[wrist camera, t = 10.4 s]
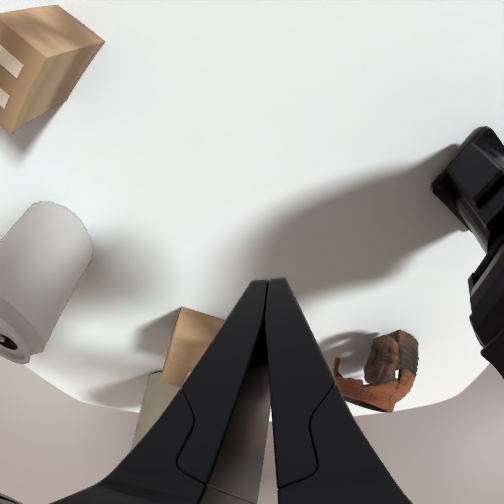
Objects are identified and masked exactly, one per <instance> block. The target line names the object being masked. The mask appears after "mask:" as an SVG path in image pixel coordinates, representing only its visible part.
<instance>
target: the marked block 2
mask: <svg viewBox="0 0 504 504" xmlns="http://www.w3.org/2000/svg"><path fill="white" fill-rule="evenodd" d="M224 322H225V320H223V319H220V318H217V317H214V316H210V315H207V314H204V313H201V312H198V311H194V310H191V309H188V308H185V307H182V308H181V310H180V313H179V316H178V319H177V322H176V324H175V327H174V330H173V333H172V337H171V341H170V344H169V348H168V352H167V356H166V359H165V363H164V367H163V371H162V375H161V379H160V382H164V383H167V384H170V385H174V386H177V387H181V388H182V385H183V383H184V382H185V380H186V379H187V377H188V376H189V374H190V373H191V371H192V370H193V369H194V367H195V366H196V364H197V363H198V361H199V360H200V358H201V357H202V355H203V354H204V352H205V351H206V349H207V348H208V346H209V345H210V343H211V342H212V340H213V339H214V337H215V336H216V334H217V333H218V331H219V329H220V328H221V326H222V325H223V323H224Z"/></svg>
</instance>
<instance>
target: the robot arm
mask: <svg viewBox="0 0 504 504" xmlns="http://www.w3.org/2000/svg"><path fill="white" fill-rule="evenodd" d="M487 132H489V134H488V136H486V134H487ZM438 186H440V188H439V189H436V188H437V187H438ZM431 190H432V191H433V193H434V194H435V195H436V196H437V197H438V198H439V199H440V200H441V201H442V202H443V203H444V204H445V205H446V206H447V207H448V208H449V209H450V210H451V211H452V212H453V213H454V214H455V215H456V216H457V217H458V218H459V219H460V221H461V222H462V223H463V224H464V225H465V226H466V227H467V228H468V229H469V230H470V231H471V232H472V233H473V234H474V236H475V237H476V239H477V240H478V242H479V243H480V245H481V247H482V248H483V250H484V252H485V253H486V256H485V257H484V259H483V260H482V262H481V263H480V265H479V266H478V268H477V269H476V271H475V272H474V273H472V274H471V276H470V277H469V278H468V285H469V292H470V303H471V310H472V314H471V315H470V317H469V318H470V323H471V325H472V327H473V330H474V332H475V335H476V337H477V339H478V341H479V343H480V344H481V346H482V347H483V349H482V350H481V352H480V353H481V355H482V356H483V357H484V358H485V359H486V360H488V361H489V362H490V363H491V364H492V365H493V366H494V367H495V368H496V369H497V371H498V372H499V373H500V374H501V375H502V377H503V379H504V145H503V144H502V142H501V141H500V139H499V138H498V137H497V135H496V134H495V132H494V131H493V130H492V129H491V128H490V127H487V126H485V127H483V128H482V129H481V130H480V132H479V133H478V134H477V135H476V136H475V137H474V138H473V140H472V141H471V142H470V143H469V144H468V145H467V146H466V147H465V148H464V149H463V150H462V152H461V153H460V154H459V155H458V156H457V157H456V158H455V159H454V160H453V161H452V162H451V164H450V165H449V166H448V167H447V168H446V169H445V170H444V171H443V172H442V173H441V175H440V176H439V177H438V178H437V179H436V180H435V181H434V182H433V183H432V185H431ZM270 407H271V412H272V425H273V438H274V450H275V451H274V452H275V465H276V479H277V488H278V504H413V503H412V502H411V501H410V500H409V499H408V498H407V497H406V495H405V494H404V493H403V492H402V490H401V489H400V488H399V486H398V485H397V484H396V482H395V481H394V479H393V478H392V477H391V475H390V473H389V472H388V471H387V469H386V468H385V466H384V464H383V463H382V461H381V460H380V459H379V457H378V456H377V454H376V452H375V451H374V449H373V448H372V446H371V445H370V444H369V442H368V440H367V439H366V437H365V436H364V434H363V433H362V431H361V429H360V428H359V426H358V425H357V423H356V421H355V419H354V418H353V416H352V414H351V412H350V410H349V408H348V406H347V404H346V402H345V400H344V398H343V396H342V394H341V392H340V390H339V387H338V386H337V385H336V382H335V379H334V377H333V375H332V373H331V371H330V369H329V367H328V365H327V362H326V360H325V358H324V356H323V354H322V352H321V350H320V348H319V346H318V344H317V342H316V339H315V337H314V335H313V333H312V331H311V329H310V327H309V325H308V323H307V321H306V319H305V317H304V315H303V312H302V310H301V308H300V306H299V304H298V302H297V300H296V298H295V296H294V294H293V292H292V290H291V288H290V286H289V284H288V282H287V280H286V278H285V277H279V278H271V279H269V280H268V279H258V280H253V281H251V282H250V284H249V285H248V287H247V289H246V290H245V292H244V293H243V295H242V296H241V298H240V299H239V301H238V302H237V304H236V305H235V307H234V308H233V310H232V311H231V313H230V314H229V316H228V317H227V319H226V320H225V322H224V323H223V325H222V326H221V328H220V329H219V331H218V333H217V334H216V336H215V337H214V339H213V340H212V342H211V343H210V345H209V346H208V348H207V349H206V351H205V352H204V354H203V355H202V357H201V358H200V360H199V361H198V363H197V364H196V366H195V367H194V369H193V370H192V371H191V373H190V374H189V376H188V377H187V379H186V380H185V382H184V383H183V385H182V389H179V390H178V392H177V394H176V395H175V396H174V398H173V399H172V401H171V402H170V404H169V405H168V406H167V408H166V409H165V411H164V412H163V413H162V415H161V416H160V417H159V419H158V420H157V421H156V422H155V424H154V425H153V426H152V427H151V428H150V430H149V431H148V432H147V433H146V434H145V436H144V437H143V438H142V439H141V440H140V441H139V442H138V444H137V445H136V446H135V447H134V448H133V449H132V450H131V451H130V453H129V454H128V455H127V456H126V457H125V458H124V459H123V460H122V461H121V463H120V464H119V465H118V466H117V467H116V468H115V469H114V470H113V471H112V472H111V473H110V474H109V475H108V476H107V477H105V478H104V479H103V480H101V481H100V482H98V483H96V484H95V485H93V486H91V487H89V488H86V489H84V490H82V491H79V492H77V493H75V494H72V495H70V496H67V497H65V498H63V499H60V500H58V501H55V502H52V503H50V504H257V501H258V494H259V487H260V481H261V474H262V467H263V460H264V452H265V445H266V438H267V430H268V423H269V415H270ZM0 504H22V503H20V502H18V501H16V500H14V499H12V498H10V497H8V496H6V495H4V494H1V493H0Z"/></svg>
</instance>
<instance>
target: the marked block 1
mask: <svg viewBox="0 0 504 504" xmlns="http://www.w3.org/2000/svg"><path fill="white" fill-rule="evenodd" d="M104 43H105V41H104V40H103V39H101V38H100V37H99V36H98V35H96V34H95V33H94V32H93V31H91V30H90V29H89V28H87V27H86V26H85V25H84V24H82V23H81V22H80V21H78V20H77V19H76V18H74V17H73V16H72V15H70V14H69V13H68V12H66V11H65V10H64V9H62V8H61V7H60V6H58V5H52V6H43V7H35V8H28V9H22V10H16V11H10V12H5V13H0V124H1V125H2V126H3V127H4V128H5V129H6V130H7V131H9V132H10V133H11V134H12V133H13V132H15V131H16V130H18V129H19V128H21V127H22V126H24V125H25V124H27V123H28V122H30V121H32V120H33V119H35V118H36V117H38V116H40V115H41V114H43V113H45V112H46V111H48V110H50V109H51V108H53V107H55V106H57V105H58V104H60V103H62V102H64V101H66V100H67V99H68V97H69V95H70V94H71V92H72V90H73V89H74V87H75V85H76V84H77V82H78V81H79V79H80V77H81V76H82V74H83V73H84V71H85V70H86V68H87V67H88V65H89V64H90V62H91V61H92V60H93V58H94V57H95V55H96V54H97V52H98V51H99V50H100V48H101V47H102V45H103V44H104Z"/></svg>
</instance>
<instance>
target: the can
mask: <svg viewBox="0 0 504 504" xmlns="http://www.w3.org/2000/svg"><path fill="white" fill-rule="evenodd" d="M92 256H93V245H92V242H91V238H90V235H89V234H88V232H87V229H86V227H85V226H84V224H83V222H82V221H81V220H80V218H79V217H78V216H77V215H76V214H75V213H74V212H72V211H71V210H69V209H68V208H67V207H64V206H62V205H59V204H55V203H53V202H46V201H40V202H37V203H34V204H32V205H31V206H30V207H29V209H28V210H27V211H26V212H25V213H24V214H23V215H22V216H21V217H20V219H19V220H18V221H17V222H16V223H15V224H14V226H13V227H12V228H11V229H10V230H9V231H8V233H7V234H6V235H5V236H4V237H3V239H2V240H1V241H0V355H1V356H3V357H4V358H6V359H8V360H11V361H13V362H15V363H19V364H26V363H29V360H30V355H33V354H37V353H40V352H43V350H44V348H45V346H46V343H47V341H48V339H49V337H50V335H51V333H52V331H53V329H54V327H55V325H56V323H57V321H58V319H59V317H60V315H61V313H62V311H63V309H64V307H65V305H66V303H67V301H68V300H69V298H70V296H71V294H72V292H73V290H74V288H75V287H76V285H77V283H78V281H79V279H80V278H81V276H82V274H83V272H84V271H85V269H86V267H87V265H88V264H89V262H90V260H91V258H92Z"/></svg>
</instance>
